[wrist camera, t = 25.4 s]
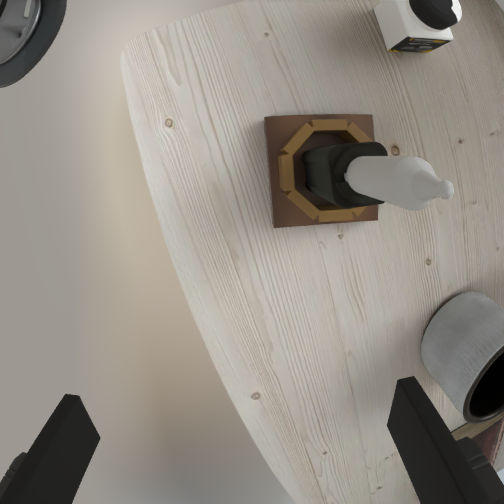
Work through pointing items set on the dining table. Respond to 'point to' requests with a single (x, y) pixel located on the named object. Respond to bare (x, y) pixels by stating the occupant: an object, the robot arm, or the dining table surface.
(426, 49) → the medicine bottle
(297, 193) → the stand
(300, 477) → the dining table surface
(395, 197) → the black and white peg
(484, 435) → the hardback book
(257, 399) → the dining table surface
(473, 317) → the planter
